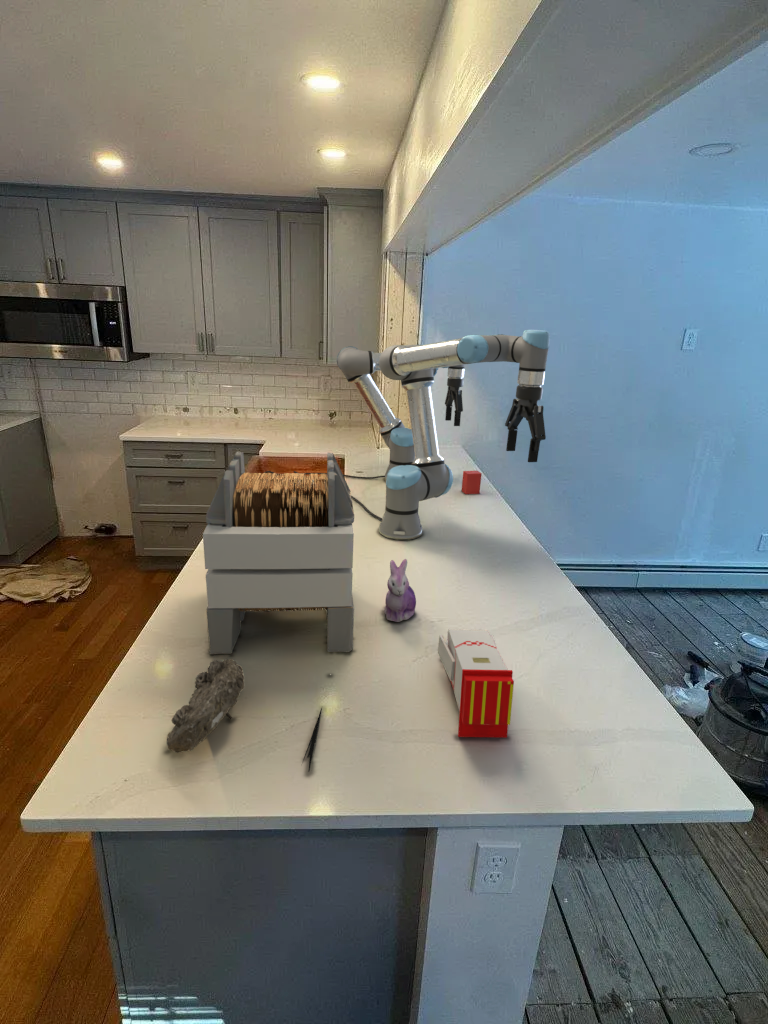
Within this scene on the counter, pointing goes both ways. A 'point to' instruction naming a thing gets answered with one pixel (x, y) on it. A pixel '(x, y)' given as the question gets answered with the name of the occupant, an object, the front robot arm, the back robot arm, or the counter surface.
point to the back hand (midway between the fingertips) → (452, 423)
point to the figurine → (399, 594)
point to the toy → (478, 682)
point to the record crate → (279, 550)
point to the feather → (313, 740)
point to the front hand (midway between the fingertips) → (521, 456)
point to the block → (471, 482)
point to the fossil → (206, 705)
